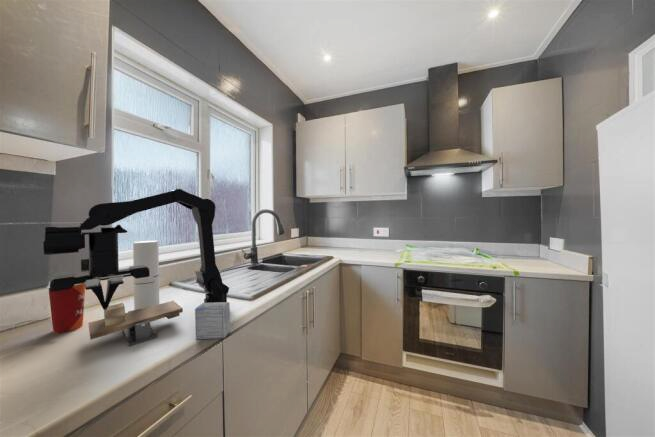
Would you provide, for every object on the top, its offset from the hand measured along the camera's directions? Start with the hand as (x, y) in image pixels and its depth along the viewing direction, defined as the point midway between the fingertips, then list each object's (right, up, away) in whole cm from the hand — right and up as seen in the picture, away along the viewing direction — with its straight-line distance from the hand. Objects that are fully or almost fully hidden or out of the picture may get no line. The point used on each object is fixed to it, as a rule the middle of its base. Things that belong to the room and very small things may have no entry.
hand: (105, 308), depth 63 cm
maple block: (+1, -4, +2) cm, 5 cm away
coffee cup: (-19, -10, +8) cm, 23 cm away
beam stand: (+5, -9, +5) cm, 11 cm away
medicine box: (+28, -9, +3) cm, 29 cm away
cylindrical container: (-5, -9, +21) cm, 24 cm away
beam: (+5, -6, +5) cm, 10 cm away
